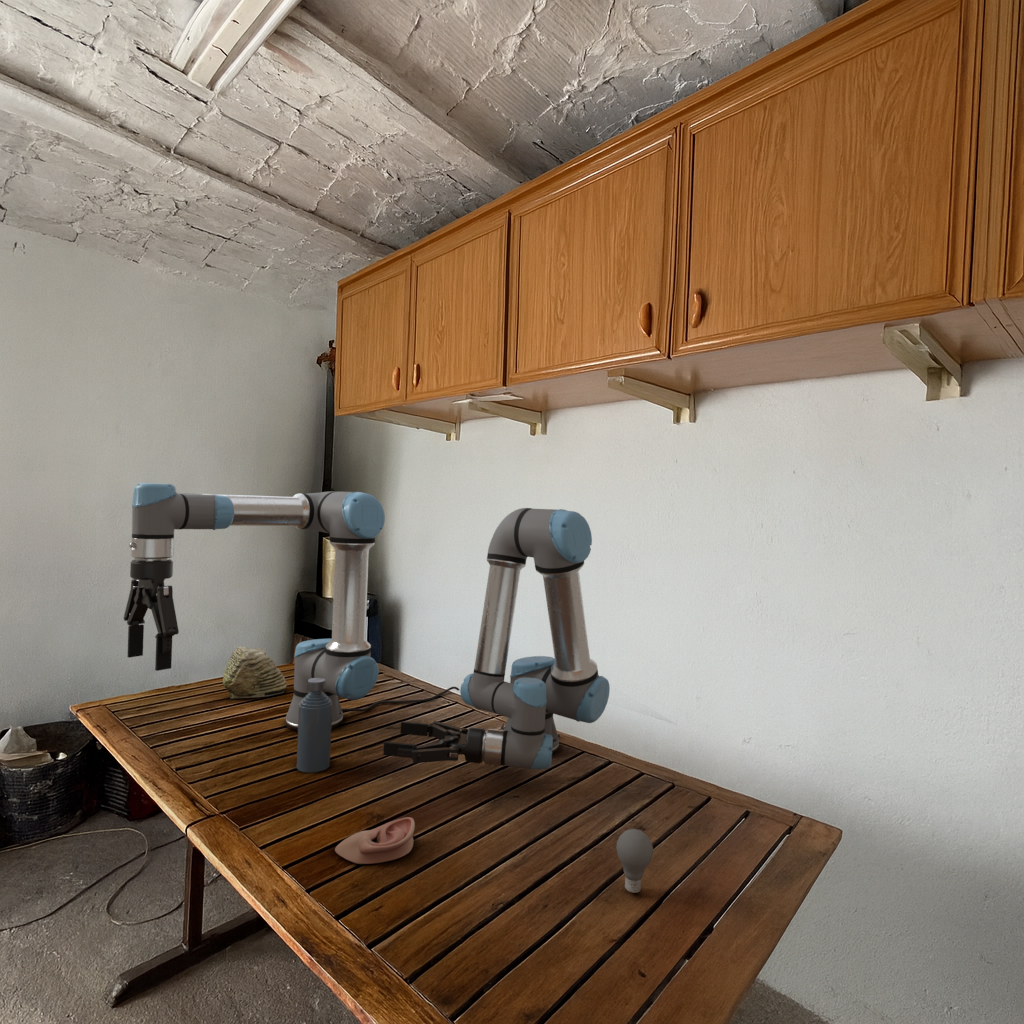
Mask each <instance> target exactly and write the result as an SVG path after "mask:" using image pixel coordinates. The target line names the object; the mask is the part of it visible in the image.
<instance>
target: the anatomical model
mask: <svg viewBox="0 0 1024 1024" xmlns="http://www.w3.org/2000/svg"><path fill="white" fill-rule="evenodd" d="M415 828H416V823H415V820H414V818H413V817H410V816H409V817H402V818H398V819H395V820H392V821H389V822H386V823H384V824H382V825H380V826H377V827H375V828H372V829H368V830H361V831H358V832H356V833H353V834H352V835H350V836H348V837H346V838H345V839H343V840H342V841H340V843H338V844H337V845H336V846H335V848H334V852H335V853H336V854H337V855H338V856H340V857H341V858H343V859H344V860H347V861H348V862H351V863H353V864H357V865H369V864H370V865H371V864H380V863H385V862H390V861H394V860H398V859H400V858H402V857H404V856H407V855H408V854H409V853H410V852H411V851H412V849H413V847H414V837H413V835H414V833H415Z"/></svg>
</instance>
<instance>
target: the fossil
mask: <svg viewBox="0 0 1024 1024" xmlns="http://www.w3.org/2000/svg"><path fill="white" fill-rule="evenodd" d="M222 676H223V677H222V685H223V687H224V688H225V690H226V691H228V693H229V698H230V699H250V698H264V697H271V696H275V695H281V694H284V693H285V691H286V689H287V687H288V686H287V680H286V678H285V676H284V674H283V673H282V672H281V669H279V668H278V667H277V665H276V663H275V662H274V660H273V659H272V658H271V657H270V656H269V655H268V654H267V653H266V652H265V650H264V649H263V648H260V647H258V648H251V647H247V646H246V647H245V646H238V647H237V648H236V649H235V650H233V651H232V653H231V656H230V657H229V659H228V660H227V663H226V666H225V668H224V671H223V675H222Z"/></svg>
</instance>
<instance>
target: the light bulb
mask: <svg viewBox="0 0 1024 1024" xmlns="http://www.w3.org/2000/svg"><path fill="white" fill-rule="evenodd" d="M615 849H616V854H617V857H618V859H619V861H620V863H621V865H622V867H623V873H624V874H623V875H624V876H625V878H624V888H625V890H627V891H628V892H630V893H634V894H635V893H639V892H640V891H641V889H642V887H641V886H642V879H643V877H644V875H645V871H646V868H647V867H648V866H649V864H650V863H651V861H652V859H653V855H654V847H653V843H652V841H651V838H649V836H648V835H647V834H646V833H645V832H643V831H642V830H641V829H636V828H629V829H627V830H625V831H623V832H622V833H621V834H620V835H619V837H618V839H617V841H616V847H615Z"/></svg>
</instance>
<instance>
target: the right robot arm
mask: <svg viewBox="0 0 1024 1024" xmlns="http://www.w3.org/2000/svg"><path fill="white" fill-rule="evenodd" d="M592 544H593V537H592V531H591V527H590V525H589V522H588V521H587V520H586V518H585V517H584V516H583V515H582V514H580V513H579V512H577V511H573V510H567V509H564V508H563V509H562V508H560V509H555V508H554V509H553V508H551V509H550V508H531V507H522V508H518V509H514V510H513V511H511V512H510V513H508V514H507V515H506V516H504V518H502V520H501V521H500V522H499V524H498V525H497V527H496V529H495V531H494V532H493V534H492V537H491V539H490V542H489V545H488V550H487V555H486V562H487V563H488V565H489V569H488V576H487V583H486V588H485V589H486V590H485V594H484V602H483V608H482V615H481V622H480V627H479V635H478V641H477V647H476V654H475V662H474V668H473V673H470V674H467V675H466V676H465V677H464V678H463V682H462V683H461V685H460V688H459V691H460V692H459V693H460V698H461V700H462V701H463V702H464V703H465V704H466V705H468V706H471V707H474V708H475V709H477V710H480V711H481V710H482V711H486V712H489V713H492V714H496V715H499V716H501V717H505V718H507V720H506V723H505V722H503V723H502V724H501V726H500V729H498V728H497V729H495V728H488V729H487V730H486V729H484V728H480V727H470V728H466V727H465V728H464V727H459V726H455V725H452V724H448V723H445V722H441V721H438V720H433V722H431V723H423V722H422V723H420V722H410V721H401V722H400V731H399V734H400V735H409V736H420V737H428V738H432V737H433V738H435V739H437V740H439V741H438V742H432V743H427V744H422V745H421V744H420V745H417V743H415V742H414V743H402V742H395V741H394V742H393V741H384V742H383V751H382V753H383V754H382V755H383V756H389V757H399V758H406V759H407V758H408V759H409V758H410V759H411V760H412V763H413V764H422V763H423V764H424V763H435V762H447V761H448V762H449V761H451V762H457V761H459V756H460V755H463V756H464V760H465V762H466V763H469V764H480V765H481V764H483V763H484V764H485V765H490V766H491V765H493V767H495V768H497V767H498V766H501V767H502V766H503V767H513V768H520V769H528V770H549V769H550V767H551V766H552V762H553V761H552V759H553V754H554V753H556V752H557V751H558V750H559V748H560V737H561V734H559V733H558V731H557V727H556V722H555V719H554V715H556V716H560V717H563V718H566V719H570V720H572V721H573V720H574V721H576V722H578V723H581V722H582V723H586V724H592V723H595V722H596V721H598V720H600V718H601V716H602V715H603V714H604V711H605V709H606V707H607V705H608V701H609V698H610V697H609V696H610V690H611V687H610V686H611V685H610V682H609V680H608V679H607V677H605V676H604V675H603V676H602V675H599V670H598V665H597V662H596V661H595V660H594V659H592V658H591V656H590V649H589V640H588V632H587V624H586V618H585V617H586V616H585V609H584V601H583V594H582V585H581V577H580V571H581V569H582V568H583V567H584V565H585V561H586V560H587V558H589V555H590V554H591V550H592V548H591V546H592ZM528 558H533V562H534V568H535V569H534V570H535V571H536V572H537V573H539V574H540V575H541V576H542V578H543V580H542V581H543V587H544V593H545V599H546V600H545V601H546V608H547V614H548V620H549V621H548V622H549V627H550V629H549V630H550V634H551V641H552V648H553V656H554V657H553V656H546V655H545V656H544V655H543V656H542V655H536V656H525V657H520V658H517V659H515V660H514V661H513V662H512V665H511V670H510V675H509V678H510V681H509V682H507V681H505V676H506V671H507V670H506V669H507V663H508V657H509V650H510V643H511V638H512V630H513V623H514V616H515V609H516V604H517V597H518V592H519V591H518V590H519V583H520V577H521V571H522V569H524V568H525V567H526V564H527V559H528ZM482 762H483V763H482Z"/></svg>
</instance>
